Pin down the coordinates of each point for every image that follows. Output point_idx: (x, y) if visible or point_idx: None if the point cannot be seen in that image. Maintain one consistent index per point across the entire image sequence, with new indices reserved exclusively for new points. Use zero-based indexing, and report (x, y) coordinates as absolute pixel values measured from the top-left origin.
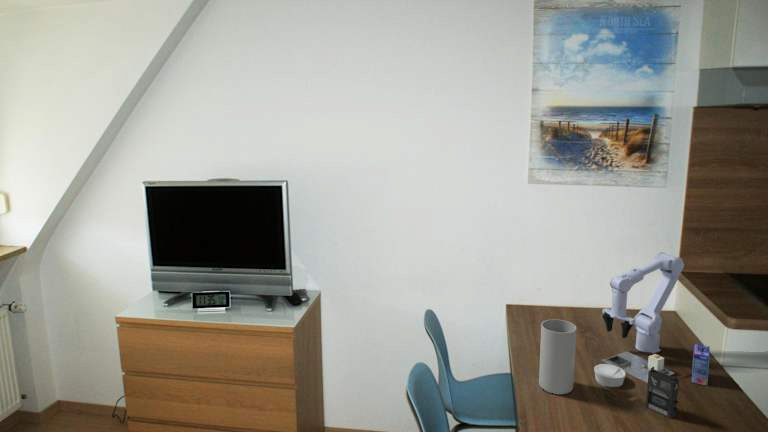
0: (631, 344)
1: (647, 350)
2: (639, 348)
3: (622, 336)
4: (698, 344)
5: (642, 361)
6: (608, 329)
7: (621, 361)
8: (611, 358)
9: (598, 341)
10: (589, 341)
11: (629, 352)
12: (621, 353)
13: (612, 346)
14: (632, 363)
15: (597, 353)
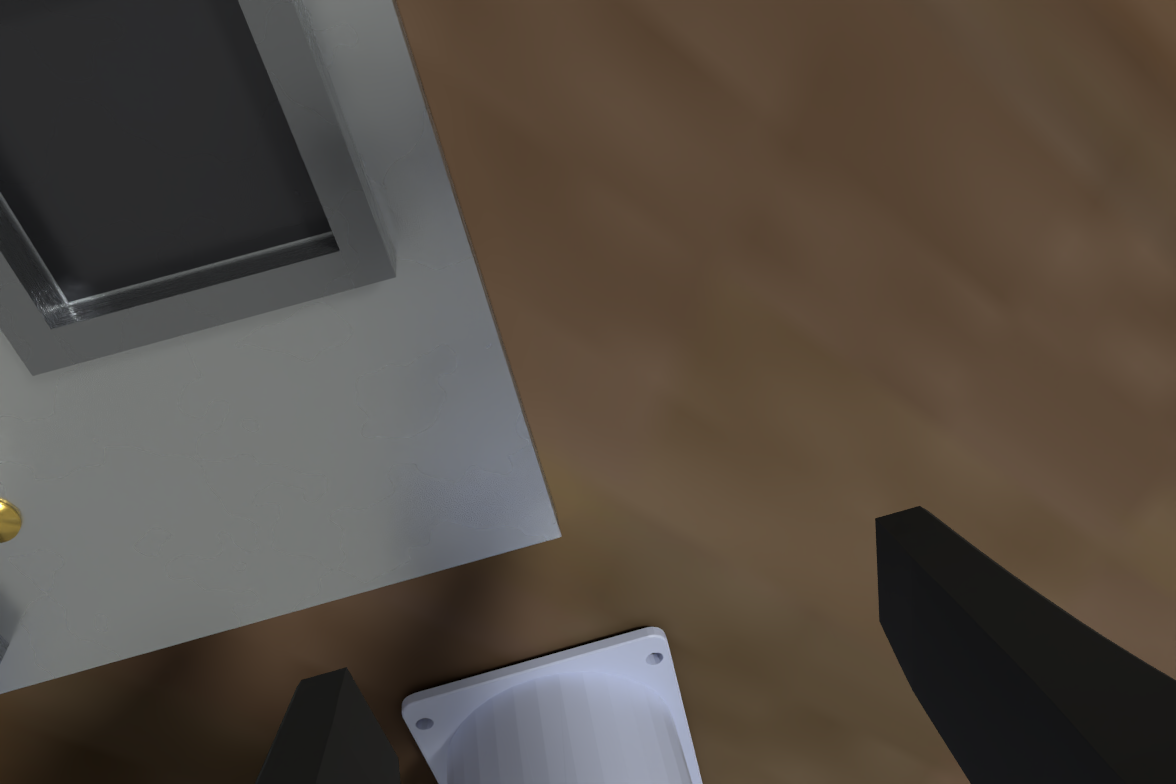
0: (764, 681)
1: (455, 769)
2: (538, 715)
3: (325, 706)
4: None
5: (155, 570)
6: (912, 574)
7: (187, 239)
8: (268, 69)
9: (1072, 341)
10: (1167, 196)
11: (511, 550)
12: (512, 422)
13: (833, 444)
14: (78, 387)
15: (735, 24)
